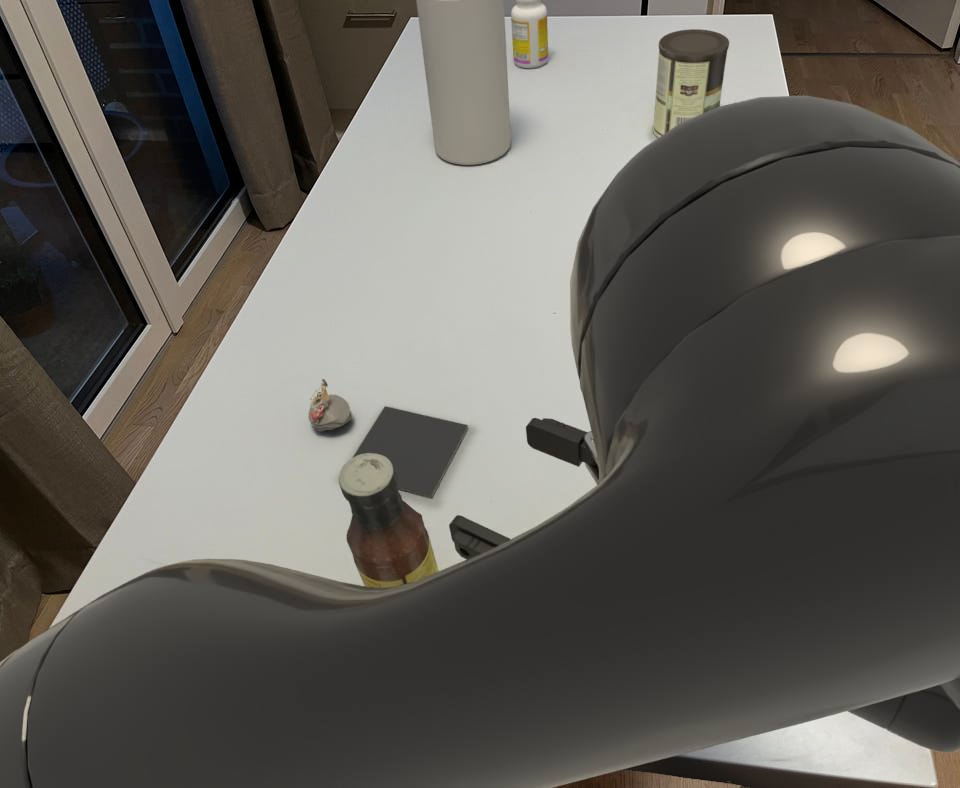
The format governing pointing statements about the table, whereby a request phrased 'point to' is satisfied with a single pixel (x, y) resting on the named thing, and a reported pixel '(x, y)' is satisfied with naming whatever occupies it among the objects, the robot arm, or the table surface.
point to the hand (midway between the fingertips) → (493, 477)
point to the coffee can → (688, 76)
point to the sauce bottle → (384, 525)
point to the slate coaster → (414, 447)
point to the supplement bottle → (529, 33)
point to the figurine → (328, 410)
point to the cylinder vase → (466, 78)
